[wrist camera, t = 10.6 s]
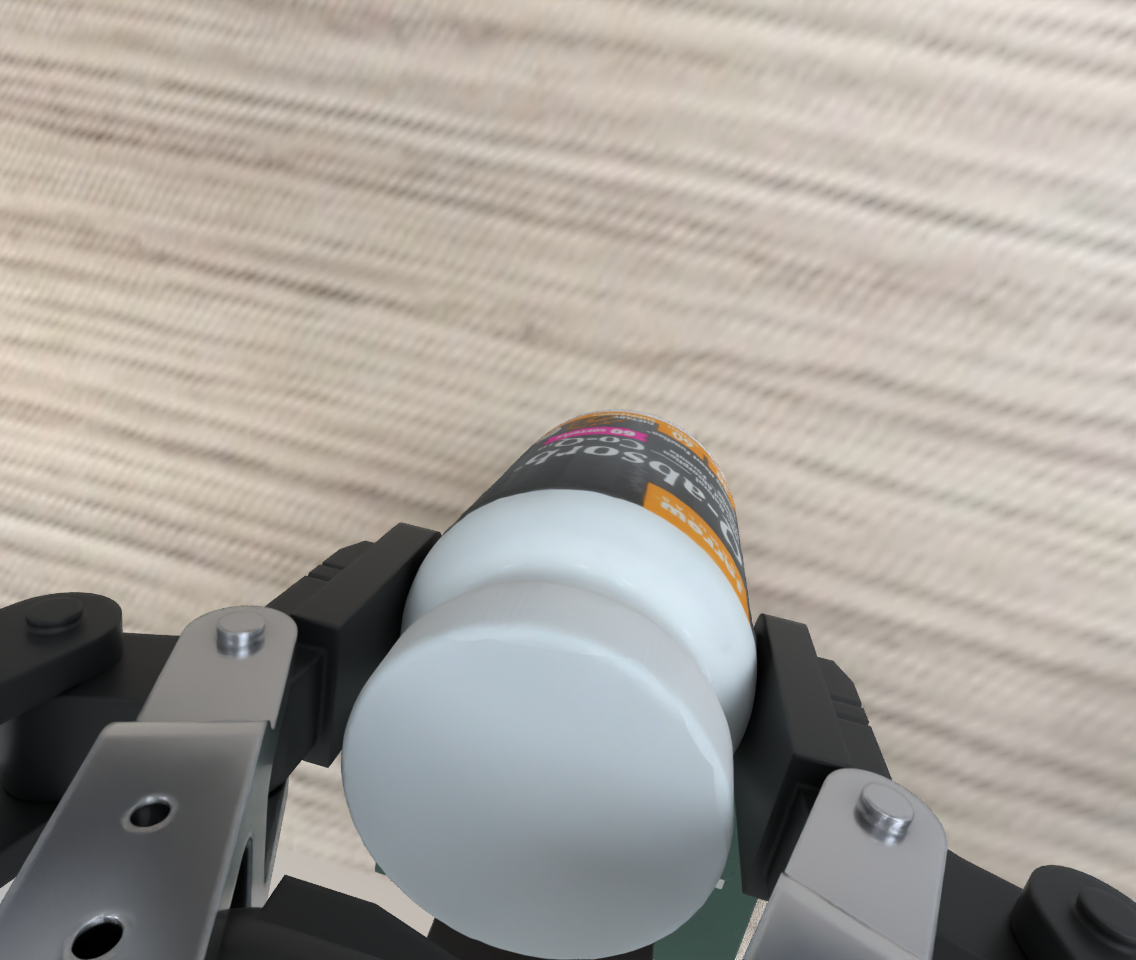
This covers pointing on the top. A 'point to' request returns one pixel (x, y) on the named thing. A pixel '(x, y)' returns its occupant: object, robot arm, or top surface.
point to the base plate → (710, 918)
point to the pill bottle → (566, 699)
